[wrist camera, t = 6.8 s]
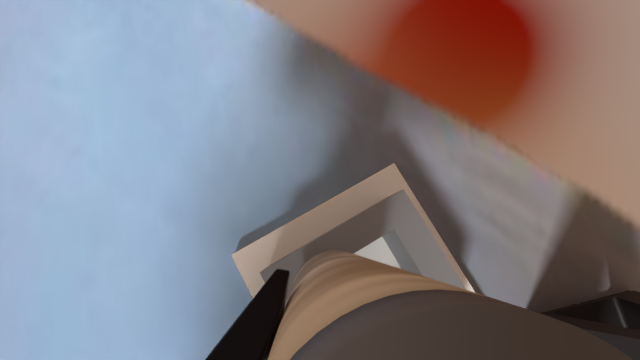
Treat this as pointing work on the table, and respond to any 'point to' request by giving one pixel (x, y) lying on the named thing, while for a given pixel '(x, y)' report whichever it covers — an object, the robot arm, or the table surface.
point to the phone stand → (608, 320)
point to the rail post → (414, 319)
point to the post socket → (356, 235)
